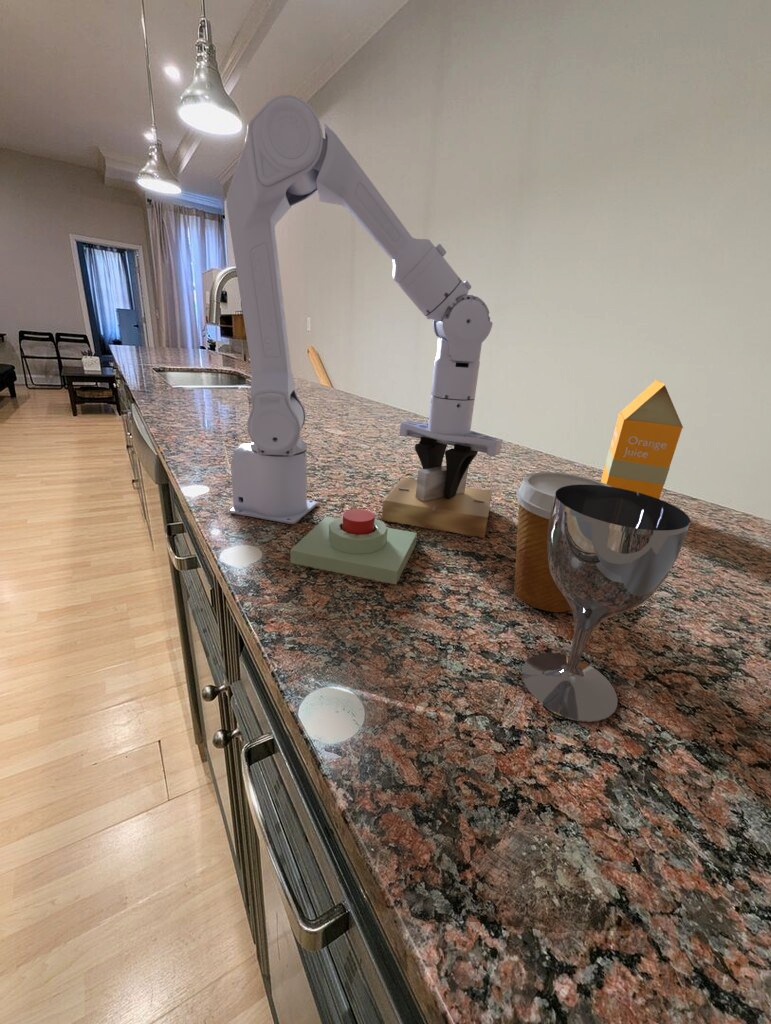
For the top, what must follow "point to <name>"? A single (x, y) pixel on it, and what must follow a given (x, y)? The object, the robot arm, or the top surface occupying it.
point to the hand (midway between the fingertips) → (441, 494)
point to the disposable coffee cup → (539, 539)
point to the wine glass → (600, 583)
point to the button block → (356, 550)
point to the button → (358, 522)
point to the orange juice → (643, 443)
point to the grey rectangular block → (435, 483)
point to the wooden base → (438, 509)
